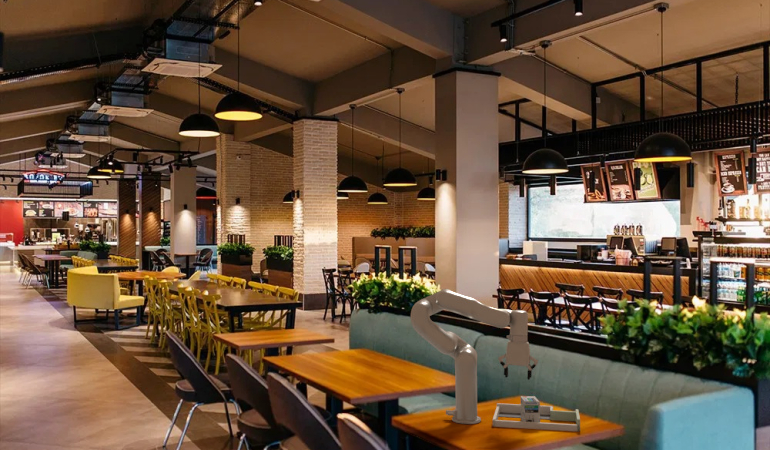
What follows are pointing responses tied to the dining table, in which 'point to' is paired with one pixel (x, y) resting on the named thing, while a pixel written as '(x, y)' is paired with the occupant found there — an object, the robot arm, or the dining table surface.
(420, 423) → the dining table surface
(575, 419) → the frame
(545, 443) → the dining table surface
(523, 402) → the light bulb box
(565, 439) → the dining table surface
